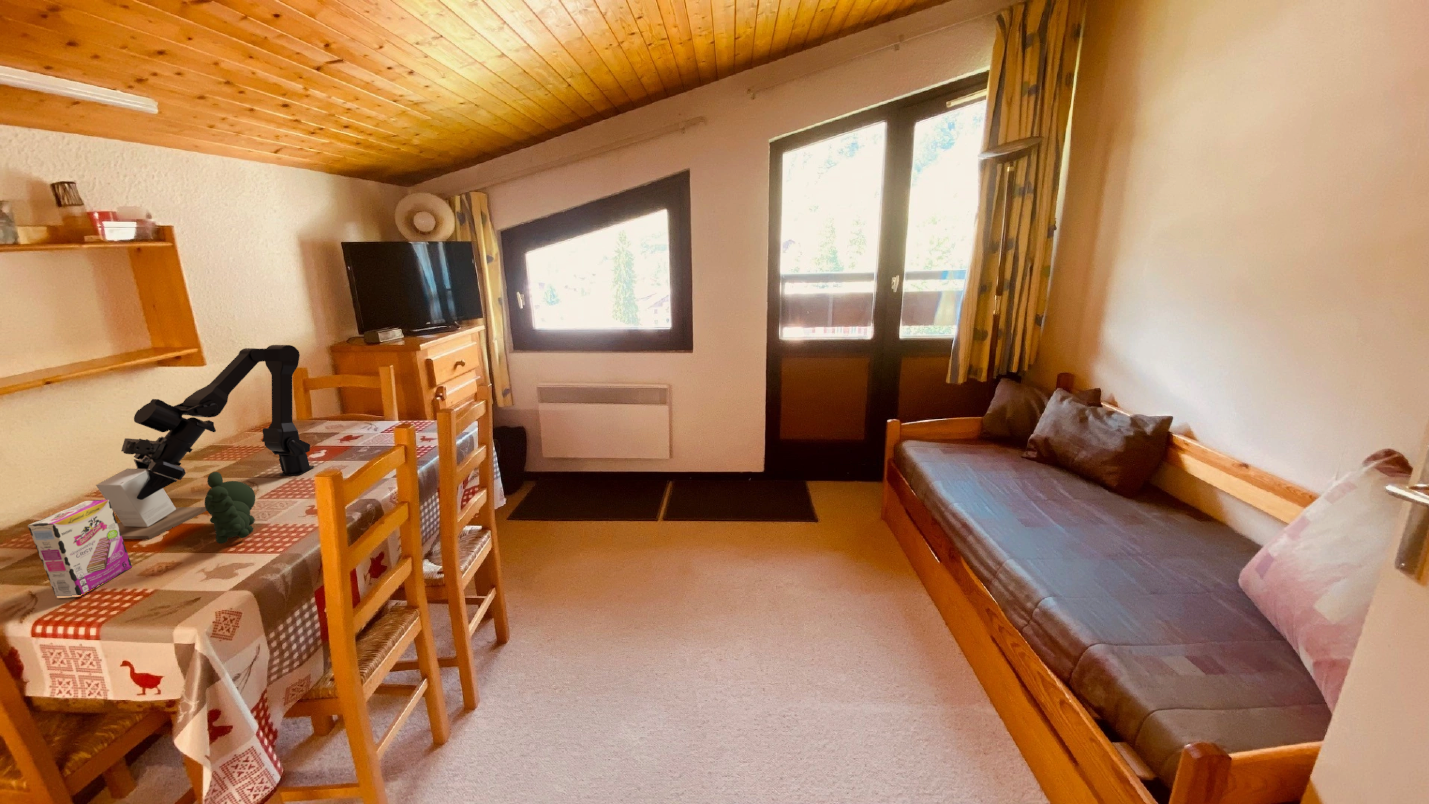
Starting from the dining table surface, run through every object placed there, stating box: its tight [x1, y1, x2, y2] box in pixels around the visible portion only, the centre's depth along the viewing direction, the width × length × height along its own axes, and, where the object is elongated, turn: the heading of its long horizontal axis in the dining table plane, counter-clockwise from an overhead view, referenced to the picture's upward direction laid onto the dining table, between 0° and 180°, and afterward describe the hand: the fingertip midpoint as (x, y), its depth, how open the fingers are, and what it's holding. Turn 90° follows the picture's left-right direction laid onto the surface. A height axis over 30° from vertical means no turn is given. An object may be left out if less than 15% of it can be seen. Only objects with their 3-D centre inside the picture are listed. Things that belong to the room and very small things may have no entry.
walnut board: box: [117, 506, 208, 541], centre depth 138 cm, size 15×15×1 cm
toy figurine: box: [204, 471, 256, 545], centre depth 131 cm, size 9×19×25 cm
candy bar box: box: [27, 499, 133, 598], centre depth 111 cm, size 11×5×16 cm, turn 5°
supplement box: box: [95, 468, 176, 527], centre depth 135 cm, size 7×7×13 cm
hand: (134, 494), depth 135 cm, fingers closed on supplement box, 9 cm apart
